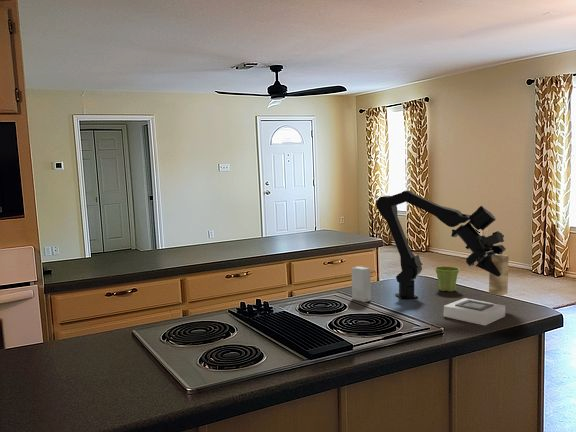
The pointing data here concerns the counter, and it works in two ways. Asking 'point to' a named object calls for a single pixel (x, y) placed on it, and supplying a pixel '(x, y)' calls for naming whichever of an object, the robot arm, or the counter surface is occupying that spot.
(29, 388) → the counter surface
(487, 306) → the socket block
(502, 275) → the peg
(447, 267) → the plant pot
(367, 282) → the skincare box
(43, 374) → the counter surface
